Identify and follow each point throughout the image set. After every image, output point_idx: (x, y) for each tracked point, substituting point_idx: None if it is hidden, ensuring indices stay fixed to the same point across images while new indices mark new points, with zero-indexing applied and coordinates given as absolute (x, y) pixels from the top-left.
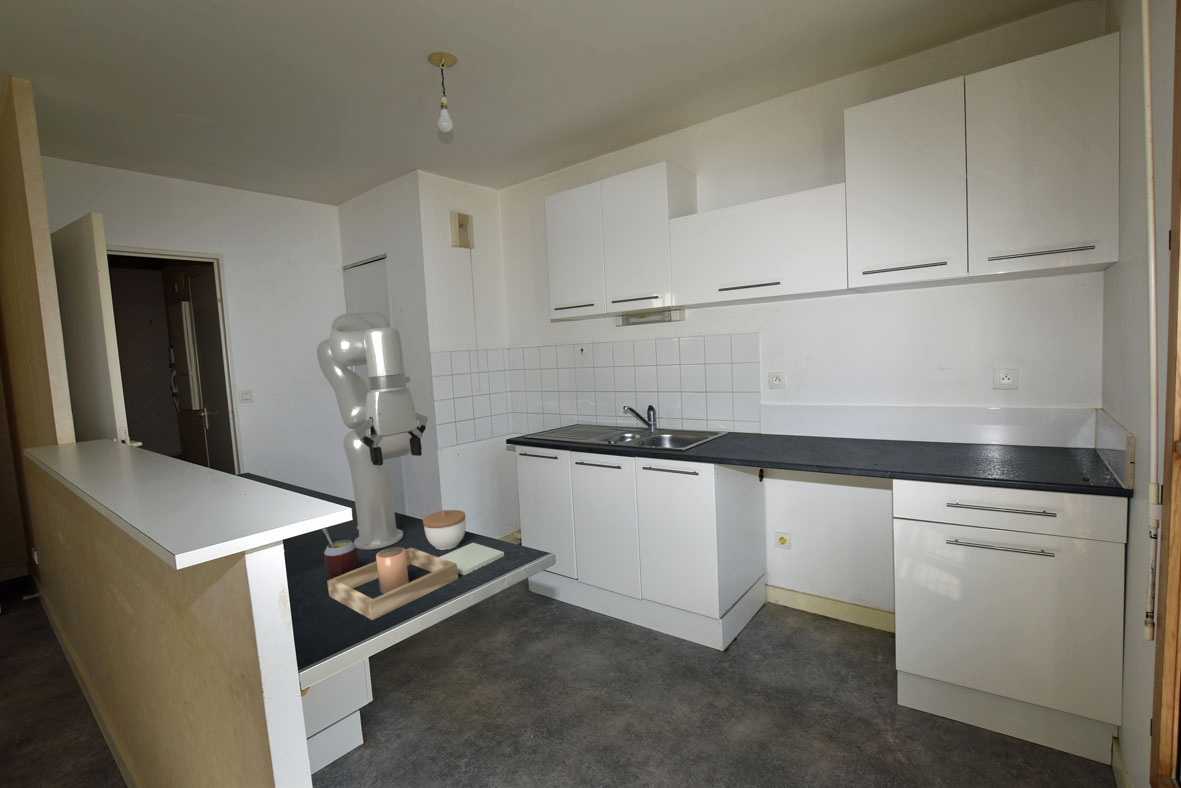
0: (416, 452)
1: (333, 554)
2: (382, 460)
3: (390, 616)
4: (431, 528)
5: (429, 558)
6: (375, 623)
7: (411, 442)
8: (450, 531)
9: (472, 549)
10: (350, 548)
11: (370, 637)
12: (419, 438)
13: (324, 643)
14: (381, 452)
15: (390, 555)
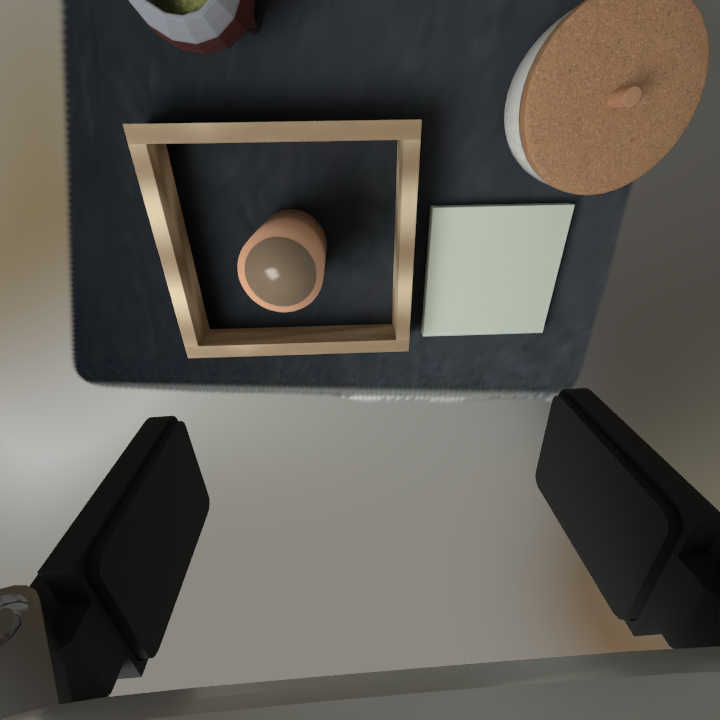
0: (552, 476)
1: (140, 14)
2: (199, 530)
3: None
4: (519, 129)
5: (398, 257)
6: None
7: (627, 510)
8: (546, 183)
9: (530, 249)
10: (209, 31)
11: (179, 386)
12: (653, 633)
13: (106, 342)
14: (172, 603)
15: (269, 296)
